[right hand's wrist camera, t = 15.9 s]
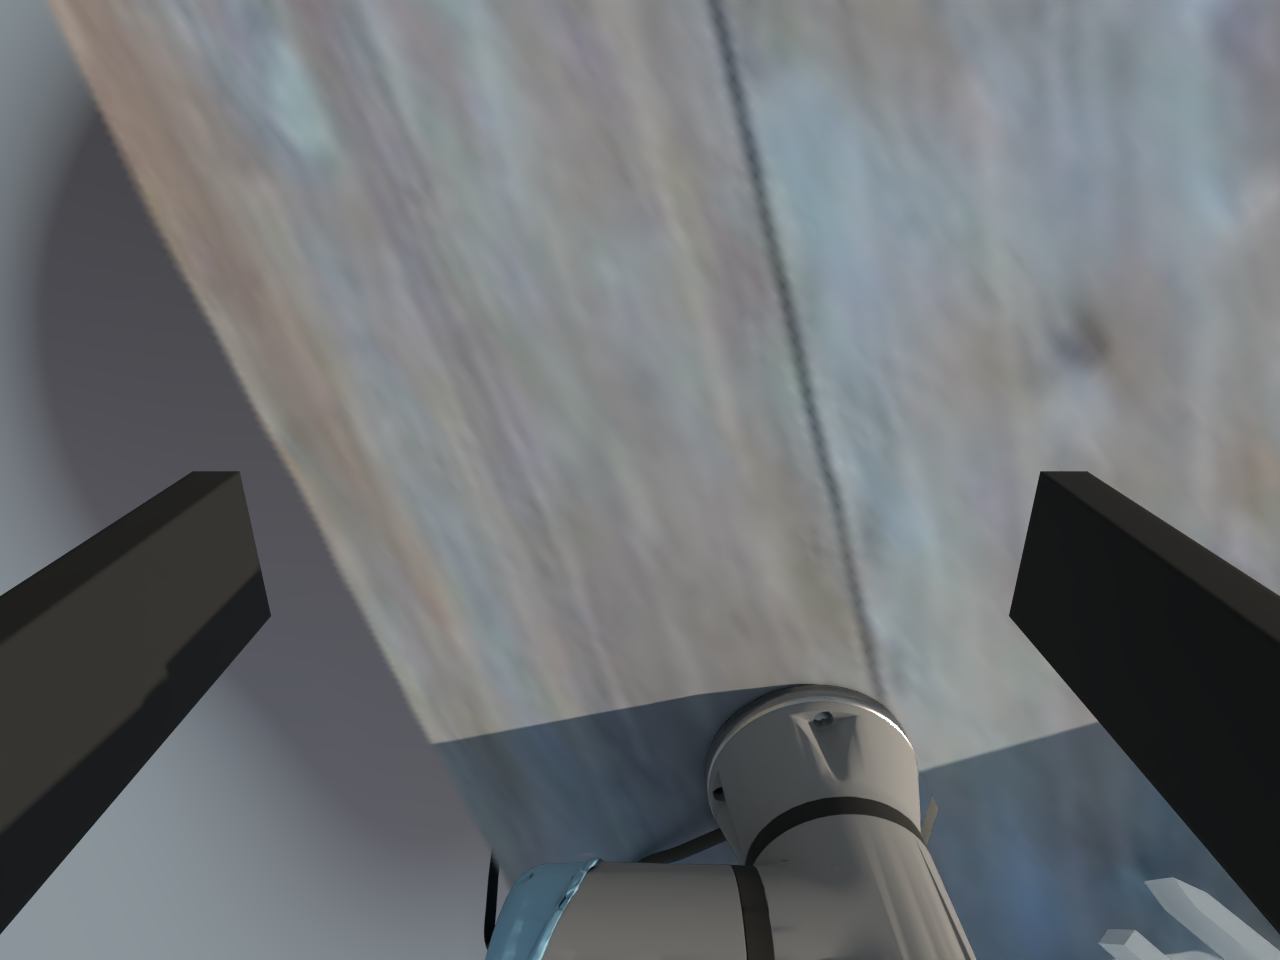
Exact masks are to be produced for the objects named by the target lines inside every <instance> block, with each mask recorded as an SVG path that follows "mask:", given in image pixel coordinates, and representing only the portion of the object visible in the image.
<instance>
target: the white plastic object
mask: <svg viewBox="0 0 1280 960" xmlns="http://www.w3.org/2000/svg"><path fill="white" fill-rule="evenodd" d="M1144 883H1145V884H1146V885H1147V887H1148V888H1149V889H1150V891H1151V892H1152V893H1153V895H1154V896H1155V897H1156V899H1157V900H1158V901H1159V903H1160V904H1161V906H1162V907H1163V908H1164V910H1166V911H1167V912H1168V913H1169V914H1170V915H1172V916H1173V917H1174V918H1175V919H1176V920H1178V921H1179V922H1180V923H1181V924H1182V925H1184V926H1185V927H1186V928H1187V929H1188V930H1190V931H1191V932H1192V933H1193V934H1194V935H1196V936H1197V937H1198V938H1199V939H1201V940H1202V941H1203V942H1204V943H1205V944H1207V945H1208V946H1209V947H1210V948H1211V949H1213V950H1214V951H1215V952H1216V953H1217V954H1219V955H1220V956H1221V957H1222V958H1223V959H1225V960H1280V951H1279V950H1278V949H1277V948H1275V947H1274V946H1273V945H1272V944H1270V943H1269V942H1268V941H1267V940H1265V939H1264V938H1263V937H1262V936H1260V935H1259V934H1258V933H1257V932H1255V931H1254V930H1253V929H1252V928H1250V927H1249V926H1248V925H1247V924H1245V923H1244V922H1243V921H1242V920H1240V919H1239V918H1238V917H1237V916H1235V915H1234V914H1233V913H1232V912H1230V911H1229V910H1228V909H1227V908H1225V907H1224V906H1223V905H1222V904H1220V903H1219V902H1218V901H1217V900H1215V899H1214V898H1213V897H1212V896H1210V895H1209V894H1208V893H1206V892H1204V891H1202V890H1200V889H1197V888H1195V887H1193V886H1191V885H1189V884H1187V883H1184V882H1182V881H1180V880H1178V879H1176V878H1174V877H1170V878H1163V879H1156V880H1148V881H1144ZM1098 944H1100V945H1101V946H1102V947H1103V948H1104V949H1105V950H1106V951H1107V952H1108V953H1110V954H1111V955H1112V956H1113V957H1114V958H1115V959H1116V960H1170V959H1169V958H1168V957H1166V956H1165V955H1164V954H1163V953H1162V952H1161V951H1159V950H1158V949H1157V948H1156V947H1155V946H1154V945H1152V944H1151V943H1150V942H1149V941H1148V940H1147V939H1145V938H1144V937H1143V936H1142V935H1141V934H1140V933H1139V932H1137V931H1136V930H1128V929H1108V930H1107V932H1106V933H1105V935H1104V936H1103V937H1102V939H1101V940H1100V941H1099V943H1098Z"/></svg>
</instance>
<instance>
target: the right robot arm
mask: <svg viewBox="0 0 1280 960" xmlns="http://www.w3.org/2000/svg"><path fill="white" fill-rule="evenodd" d="M270 616H271V614H270V609H269V605H268V600H267V595H266V591H265V586H264V582H263V577H262V572H261V568H260V563H259V559H258V554H257V549H256V545H255V540H254V536H253V531H252V527H251V522H250V517H249V513H248V508H247V504H246V499H245V494H244V490H243V485H242V480H241V476H240V472H239V471H238V472H237V471H236V472H235V471H233V472H232V471H231V472H230V471H227V472H226V471H225V472H224V471H223V472H222V471H220V472H218V471H217V472H216V471H214V472H213V471H212V472H210V471H209V472H207V471H203V472H201V471H200V472H199V471H196V472H191V473H190V474H188V475H187V476H185V477H184V478H182V479H180V480H179V481H177V482H176V483H174V484H173V485H171V486H170V487H168V488H167V489H165V490H164V491H162V492H160V493H159V494H157V495H156V496H154V497H153V498H151V499H150V500H148V501H146V502H145V503H143V504H142V505H140V506H139V507H137V508H136V509H134V510H133V511H131V512H130V513H128V514H126V515H125V516H123V517H122V518H120V519H119V520H117V521H116V522H114V523H113V524H111V525H110V526H108V527H106V528H105V529H103V530H102V531H100V532H99V533H97V534H96V535H94V536H93V537H91V538H89V539H88V540H86V541H85V542H83V543H82V544H80V545H79V546H77V547H76V548H74V549H72V550H71V551H69V552H68V553H66V554H65V555H63V556H62V557H60V558H59V559H57V560H55V561H54V562H52V563H51V564H49V565H48V566H46V567H45V568H43V569H41V570H40V571H38V572H37V573H35V574H34V575H32V576H31V577H29V578H28V579H26V580H24V581H23V582H21V583H20V584H18V585H17V586H15V587H14V588H12V589H11V590H9V591H8V592H6V593H4V594H3V595H1V596H0V934H1V933H2V932H3V930H4V929H5V928H6V927H7V926H8V925H9V923H10V922H11V921H12V920H13V919H14V918H15V916H16V915H17V914H18V913H19V912H20V911H21V909H22V908H23V907H24V906H25V905H26V903H27V902H28V901H29V900H30V899H31V898H32V896H33V895H34V894H35V893H36V892H37V890H38V889H39V888H40V887H41V886H42V885H43V883H44V882H45V881H46V880H47V879H48V878H49V876H50V875H51V874H52V873H53V872H54V870H55V869H56V868H57V867H58V866H59V865H60V863H61V862H62V861H63V860H64V859H65V858H66V856H67V855H68V854H69V853H70V852H71V850H72V849H73V848H74V847H75V846H76V845H77V843H78V842H79V841H80V840H81V839H82V838H83V836H84V835H85V834H86V833H87V832H88V831H89V829H90V828H91V827H92V826H93V825H94V823H95V822H96V821H97V820H98V819H99V818H100V816H101V815H102V814H103V813H104V812H105V811H106V809H107V808H108V807H109V806H110V805H111V803H112V802H113V801H114V800H115V799H116V798H117V796H118V795H119V794H120V793H121V792H122V791H123V789H124V788H125V787H126V786H127V785H128V783H129V782H130V781H131V780H132V779H133V778H134V776H135V775H136V774H137V773H138V772H139V771H140V769H141V768H142V767H143V766H144V765H145V763H146V762H147V761H148V760H149V759H150V758H151V756H152V755H153V754H154V753H155V752H156V751H157V749H158V748H159V747H160V746H161V745H162V743H163V742H164V741H165V740H166V739H167V738H168V736H169V735H170V734H171V733H172V732H173V731H174V729H175V728H176V727H177V726H178V725H179V723H180V722H181V721H182V720H183V719H184V718H185V716H186V715H187V714H188V713H189V712H190V710H191V709H192V708H193V707H194V706H195V705H196V704H197V702H198V701H199V700H200V699H201V698H202V696H203V695H204V694H205V693H206V692H207V691H208V689H209V688H210V687H211V686H212V685H213V684H214V682H215V681H216V680H217V679H218V678H219V676H220V675H221V674H222V673H223V672H224V670H225V669H226V668H227V667H228V666H229V665H230V663H231V662H232V661H233V660H234V659H235V658H236V656H237V655H238V654H239V653H240V652H241V651H242V649H243V648H244V647H245V646H246V645H247V644H248V642H249V641H250V640H251V639H252V638H253V636H254V635H255V634H256V633H257V632H258V631H259V629H260V628H261V627H262V626H263V625H264V624H265V622H266V621H267V620H268V619H269V618H270ZM1009 616H1010V618H1011V619H1012V620H1013V621H1014V622H1015V624H1016V625H1017V626H1018V627H1019V628H1020V629H1021V631H1022V632H1023V633H1024V634H1025V635H1026V636H1027V638H1028V639H1029V640H1030V641H1031V642H1032V644H1033V645H1034V646H1035V647H1036V648H1037V649H1038V651H1039V652H1040V653H1041V654H1042V655H1043V656H1044V658H1045V659H1046V660H1047V661H1048V662H1049V664H1050V665H1051V666H1052V667H1053V668H1054V669H1055V671H1056V672H1057V673H1058V674H1059V675H1060V676H1061V678H1062V679H1063V680H1064V681H1065V682H1066V684H1067V685H1068V686H1069V687H1070V688H1071V689H1072V691H1073V692H1074V693H1075V694H1076V695H1077V696H1078V698H1079V699H1080V700H1081V701H1082V702H1083V704H1084V705H1085V706H1086V707H1087V708H1088V709H1089V711H1090V712H1091V713H1092V714H1093V715H1094V716H1095V718H1096V719H1097V720H1098V721H1099V722H1100V724H1101V725H1102V726H1103V727H1104V728H1105V729H1106V731H1107V732H1108V733H1109V734H1110V735H1111V736H1112V738H1113V739H1114V740H1115V741H1116V742H1117V744H1118V745H1119V746H1120V747H1121V748H1122V749H1123V751H1124V752H1125V753H1126V754H1127V755H1128V756H1129V758H1130V759H1131V760H1132V761H1133V762H1134V764H1135V765H1136V766H1137V767H1138V768H1139V769H1140V771H1141V772H1142V773H1143V774H1144V775H1145V776H1146V778H1147V779H1148V780H1149V781H1150V782H1151V783H1152V785H1153V786H1154V787H1155V788H1156V789H1157V791H1158V792H1159V793H1160V794H1161V795H1162V796H1163V798H1164V799H1165V800H1166V801H1167V802H1168V803H1169V805H1170V806H1171V807H1172V808H1173V809H1174V811H1175V812H1176V813H1177V814H1178V815H1179V816H1180V818H1181V819H1182V820H1183V821H1184V822H1185V823H1186V825H1187V826H1188V827H1189V828H1190V829H1191V831H1192V832H1193V833H1194V834H1195V835H1196V836H1197V838H1198V839H1199V840H1200V841H1201V842H1202V843H1203V845H1204V846H1205V847H1206V848H1207V849H1208V851H1209V852H1210V853H1211V854H1212V855H1213V856H1214V858H1215V859H1216V860H1217V861H1218V862H1219V863H1220V865H1221V866H1222V867H1223V868H1224V869H1225V871H1226V872H1227V873H1228V874H1229V875H1230V876H1231V878H1232V879H1233V880H1234V881H1235V882H1236V883H1237V885H1238V886H1239V887H1240V888H1241V889H1242V891H1243V892H1244V893H1245V894H1246V895H1247V896H1248V898H1249V899H1250V900H1251V901H1252V902H1253V903H1254V905H1255V906H1256V907H1257V908H1258V909H1259V911H1260V912H1261V913H1262V914H1263V915H1264V916H1265V918H1266V919H1267V920H1268V921H1269V922H1270V923H1271V925H1272V926H1273V927H1274V928H1275V929H1276V931H1277V932H1278V933H1279V934H1280V596H1279V595H1277V594H1276V593H1274V592H1273V591H1271V590H1269V589H1268V588H1266V587H1265V586H1263V585H1262V584H1260V583H1259V582H1257V581H1256V580H1254V579H1252V578H1251V577H1249V576H1248V575H1246V574H1245V573H1243V572H1242V571H1240V570H1239V569H1237V568H1235V567H1234V566H1232V565H1231V564H1229V563H1228V562H1226V561H1225V560H1223V559H1222V558H1220V557H1218V556H1217V555H1215V554H1214V553H1212V552H1211V551H1209V550H1208V549H1206V548H1205V547H1203V546H1201V545H1200V544H1198V543H1197V542H1195V541H1194V540H1192V539H1191V538H1189V537H1188V536H1186V535H1184V534H1183V533H1181V532H1180V531H1178V530H1177V529H1175V528H1174V527H1172V526H1171V525H1169V524H1167V523H1166V522H1164V521H1163V520H1161V519H1160V518H1158V517H1157V516H1155V515H1154V514H1152V513H1151V512H1149V511H1147V510H1146V509H1144V508H1143V507H1141V506H1140V505H1138V504H1137V503H1135V502H1134V501H1132V500H1130V499H1129V498H1127V497H1126V496H1124V495H1123V494H1121V493H1120V492H1118V491H1117V490H1115V489H1113V488H1112V487H1110V486H1109V485H1107V484H1106V483H1104V482H1103V481H1101V480H1100V479H1098V478H1096V477H1095V476H1093V475H1092V474H1090V473H1089V472H1087V471H1040V476H1039V480H1038V485H1037V490H1036V494H1035V499H1034V503H1033V508H1032V513H1031V517H1030V522H1029V526H1028V531H1027V536H1026V540H1025V545H1024V549H1023V554H1022V559H1021V563H1020V568H1019V572H1018V577H1017V582H1016V586H1015V591H1014V595H1013V600H1012V605H1011V609H1010V614H1009ZM706 784H707V793H708V800H709V805H710V808H711V811H712V813H713V816H714V818H715V819H716V821H717V823H718V825H719V827H720V828H719V829H716V830H714V831H712V832H709V833H707V834H705V835H703V836H700V837H698V838H696V839H694V840H691V841H689V842H687V843H684V844H682V845H679V846H677V847H674V848H671V849H668V850H665V851H661V852H658V853H655V854H652V855H650V856H648V857H645V858H644V859H642V860H640V861H639V862H637V863H630V862H604V861H603V860H601V859H597V858H595V859H592V860H590V861H587V862H582V863H559V864H542V865H538V866H535V867H533V868H531V869H529V870H528V871H526V872H525V873H524V874H523V875H522V876H521V877H520V878H519V879H518V880H517V881H516V883H515V884H514V886H513V887H512V889H511V891H510V893H509V894H508V896H507V898H506V900H505V902H504V905H503V907H502V909H501V912H500V914H499V917H498V919H497V922H496V925H495V921H496V909H497V893H498V877H499V866H498V864H497V863H496V860H495V859H494V857H493V855H492V853H491V858H490V866H489V875H488V886H487V898H486V910H485V921H484V941H485V945H486V948H487V950H488V951H487V955H486V958H485V960H976V957H975V955H974V953H973V951H972V948H971V946H970V944H969V942H968V939H967V937H966V935H965V932H964V930H963V928H962V926H961V923H960V921H959V919H958V917H957V914H956V912H955V910H954V908H953V905H952V903H951V901H950V898H949V896H948V894H947V892H946V889H945V887H944V885H943V883H942V880H941V878H940V876H939V874H938V871H937V869H936V867H935V864H934V862H933V860H932V858H931V855H930V853H929V852H928V849H927V844H928V841H929V837H930V834H931V831H932V828H933V825H934V822H935V819H936V816H937V813H938V810H939V808H938V806H937V804H936V802H935V800H934V798H933V795H932V797H931V801H930V804H929V807H928V810H927V813H926V816H925V819H924V823H923V826H922V829H921V828H920V800H919V774H918V763H917V759H916V756H915V753H914V751H913V748H912V746H911V744H910V742H909V740H908V738H907V736H906V734H905V731H904V730H903V728H902V726H901V724H900V723H899V721H898V720H897V719H896V718H895V716H894V715H893V714H892V713H891V712H890V711H889V710H888V709H887V708H885V707H884V706H883V705H882V704H880V703H879V702H877V701H876V700H874V699H872V698H870V697H868V696H867V695H864V694H862V693H859V692H857V691H854V690H850V689H847V688H842V687H838V686H830V685H803V686H795V687H790V688H785V689H782V690H778V691H775V692H772V693H770V694H767V695H764V696H762V697H760V698H758V699H756V700H754V701H752V702H751V703H749V704H747V705H746V706H744V707H743V708H742V709H740V710H739V711H738V712H736V713H735V714H734V715H733V716H732V717H731V718H730V719H729V720H728V721H727V722H726V723H725V724H724V725H723V727H722V728H721V729H720V730H719V732H718V733H717V735H716V737H715V738H714V740H713V742H712V744H711V747H710V749H709V752H708V756H707V760H706ZM726 840H727V841H728V843H729V845H730V847H731V848H732V850H733V852H734V854H735V856H736V857H737V859H738V861H739V863H740V865H719V864H668V863H672V862H675V861H678V860H681V859H684V858H686V857H689V856H691V855H693V854H696V853H698V852H700V851H703V850H705V849H707V848H710V847H712V846H714V845H717V844H719V843H721V842H724V841H726Z"/></svg>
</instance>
